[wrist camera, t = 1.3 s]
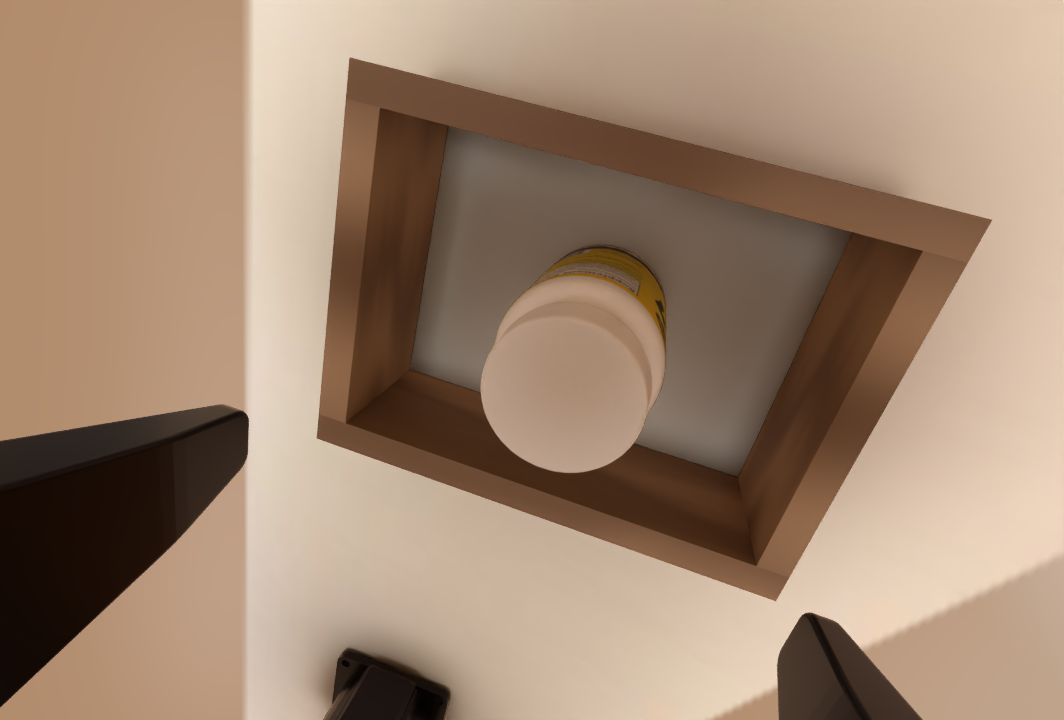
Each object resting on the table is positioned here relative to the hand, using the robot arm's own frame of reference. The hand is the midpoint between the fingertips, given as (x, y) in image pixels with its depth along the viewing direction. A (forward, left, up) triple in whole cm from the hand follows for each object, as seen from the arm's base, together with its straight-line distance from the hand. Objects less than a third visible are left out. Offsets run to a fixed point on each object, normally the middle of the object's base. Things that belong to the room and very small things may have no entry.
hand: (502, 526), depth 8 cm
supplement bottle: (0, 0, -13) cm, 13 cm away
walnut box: (0, 0, -13) cm, 13 cm away
